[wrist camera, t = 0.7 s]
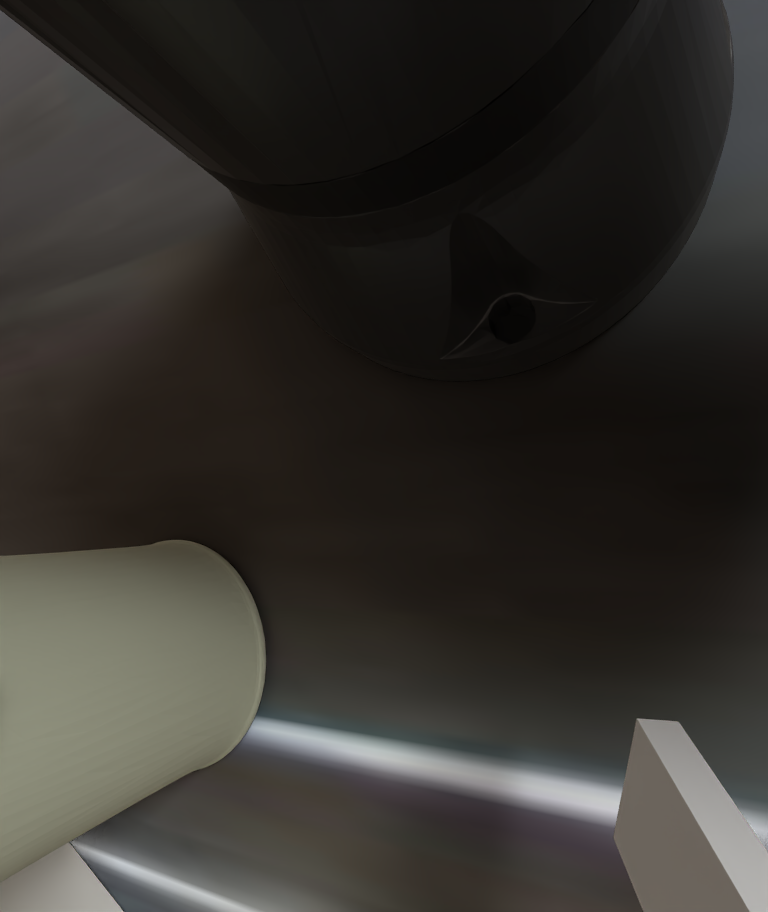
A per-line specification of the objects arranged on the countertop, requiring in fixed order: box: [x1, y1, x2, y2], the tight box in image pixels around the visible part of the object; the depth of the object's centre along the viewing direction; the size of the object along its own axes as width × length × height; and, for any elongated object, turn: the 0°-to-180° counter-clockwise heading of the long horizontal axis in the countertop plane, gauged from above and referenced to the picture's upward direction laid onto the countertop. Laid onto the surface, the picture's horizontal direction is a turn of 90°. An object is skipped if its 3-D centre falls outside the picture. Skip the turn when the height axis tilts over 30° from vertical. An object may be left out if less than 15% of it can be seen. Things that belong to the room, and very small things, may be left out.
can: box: [0, 540, 266, 882], centre depth 18 cm, size 9×9×12 cm
